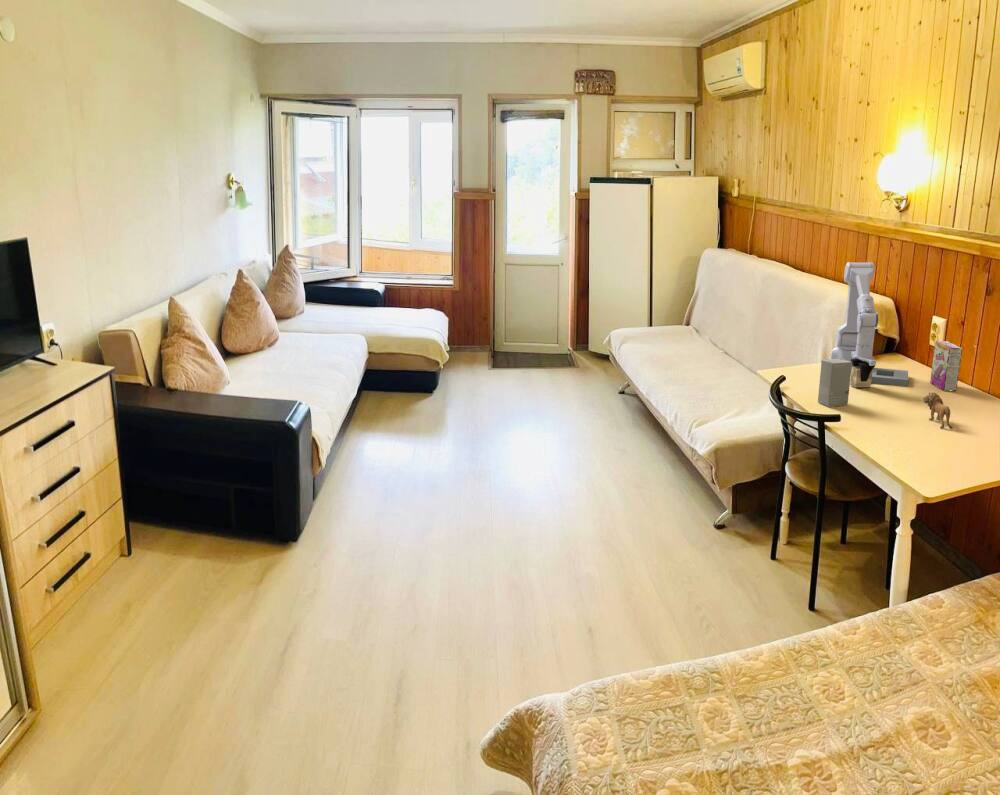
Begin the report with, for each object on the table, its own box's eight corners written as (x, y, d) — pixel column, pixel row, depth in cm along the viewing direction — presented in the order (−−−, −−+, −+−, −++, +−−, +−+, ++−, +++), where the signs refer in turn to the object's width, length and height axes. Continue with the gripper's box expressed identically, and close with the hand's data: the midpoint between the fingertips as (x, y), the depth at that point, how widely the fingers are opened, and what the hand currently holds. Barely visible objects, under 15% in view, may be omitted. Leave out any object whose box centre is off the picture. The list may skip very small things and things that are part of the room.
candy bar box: (928, 383, 316) (934, 340, 311) (942, 382, 315) (948, 340, 311) (943, 391, 305) (949, 348, 300) (957, 391, 305) (963, 347, 300)
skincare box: (828, 407, 290) (832, 363, 285) (815, 402, 296) (819, 358, 291) (849, 405, 292) (854, 361, 287) (836, 399, 298) (840, 356, 294)
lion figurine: (918, 416, 279) (921, 390, 276) (933, 415, 279) (936, 390, 277) (944, 430, 265) (948, 404, 262) (960, 430, 265) (964, 403, 263)
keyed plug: (849, 384, 314) (851, 365, 312) (865, 383, 315) (867, 365, 313) (855, 387, 310) (857, 368, 308) (870, 386, 311) (872, 367, 309)
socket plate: (861, 382, 319) (861, 375, 318) (862, 372, 331) (863, 366, 330) (907, 386, 312) (908, 379, 311) (907, 376, 324) (908, 370, 323)
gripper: (845, 340, 314) (841, 374, 319) (864, 349, 301) (860, 385, 305) (863, 339, 315) (859, 373, 319) (883, 348, 301) (878, 384, 305)
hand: (860, 379), depth 312 cm, fingers closed on keyed plug, 4 cm apart
